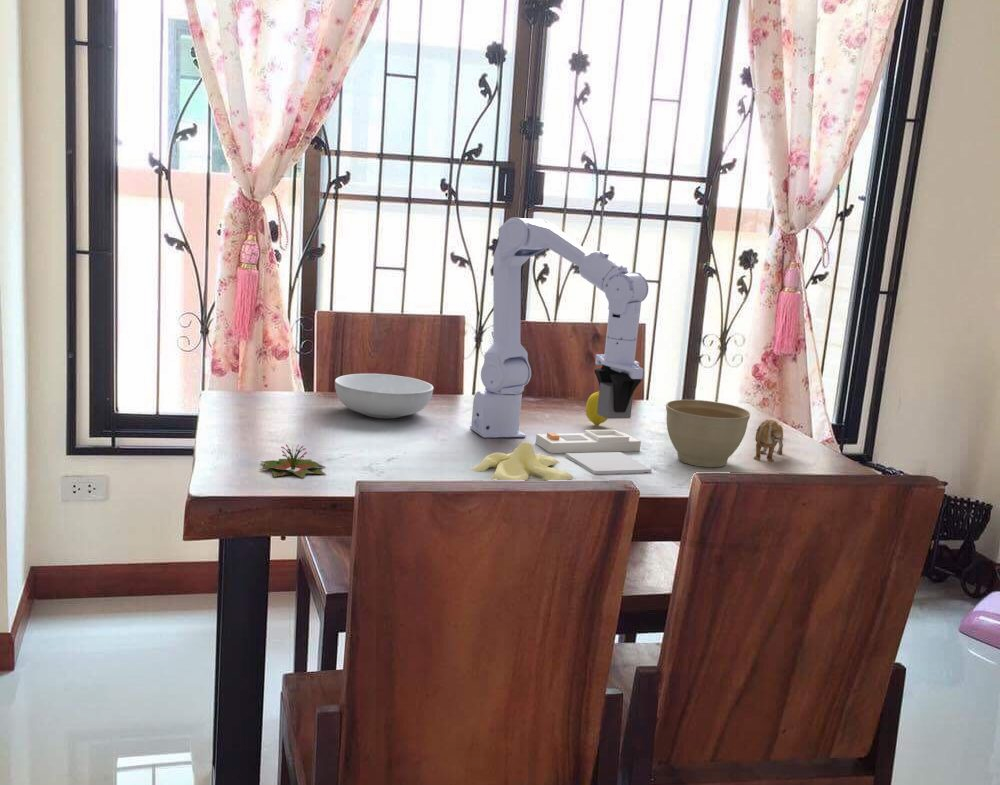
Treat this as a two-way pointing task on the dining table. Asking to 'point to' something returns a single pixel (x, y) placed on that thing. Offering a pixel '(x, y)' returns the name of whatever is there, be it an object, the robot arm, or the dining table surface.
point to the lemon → (594, 410)
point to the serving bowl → (383, 394)
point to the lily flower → (293, 464)
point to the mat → (608, 463)
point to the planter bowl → (705, 430)
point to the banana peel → (522, 465)
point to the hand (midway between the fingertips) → (613, 409)
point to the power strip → (588, 442)
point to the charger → (610, 403)
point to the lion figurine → (768, 439)
